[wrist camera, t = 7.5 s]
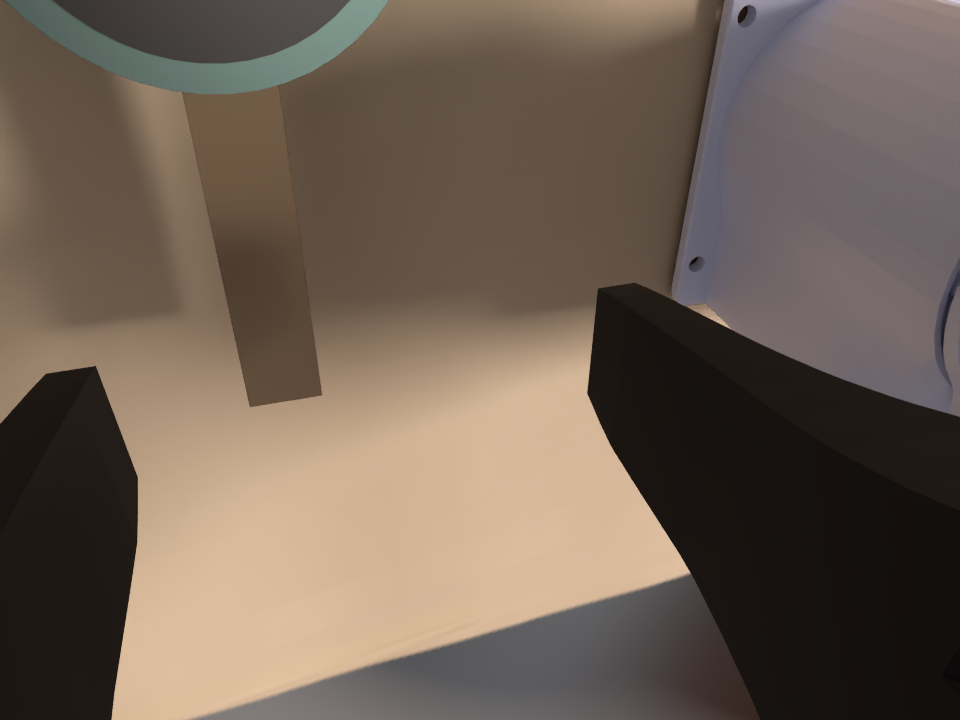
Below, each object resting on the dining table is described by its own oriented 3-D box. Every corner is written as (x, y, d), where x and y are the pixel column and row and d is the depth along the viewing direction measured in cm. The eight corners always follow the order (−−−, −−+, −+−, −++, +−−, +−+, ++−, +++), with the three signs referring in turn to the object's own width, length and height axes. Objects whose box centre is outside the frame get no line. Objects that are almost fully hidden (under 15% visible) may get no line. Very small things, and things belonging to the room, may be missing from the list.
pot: (-99, -452, 12) (-256, -588, 8) (359, -414, 13) (424, -510, 9) (136, 321, 20) (117, 447, 16) (400, 285, 21) (443, 392, 17)
